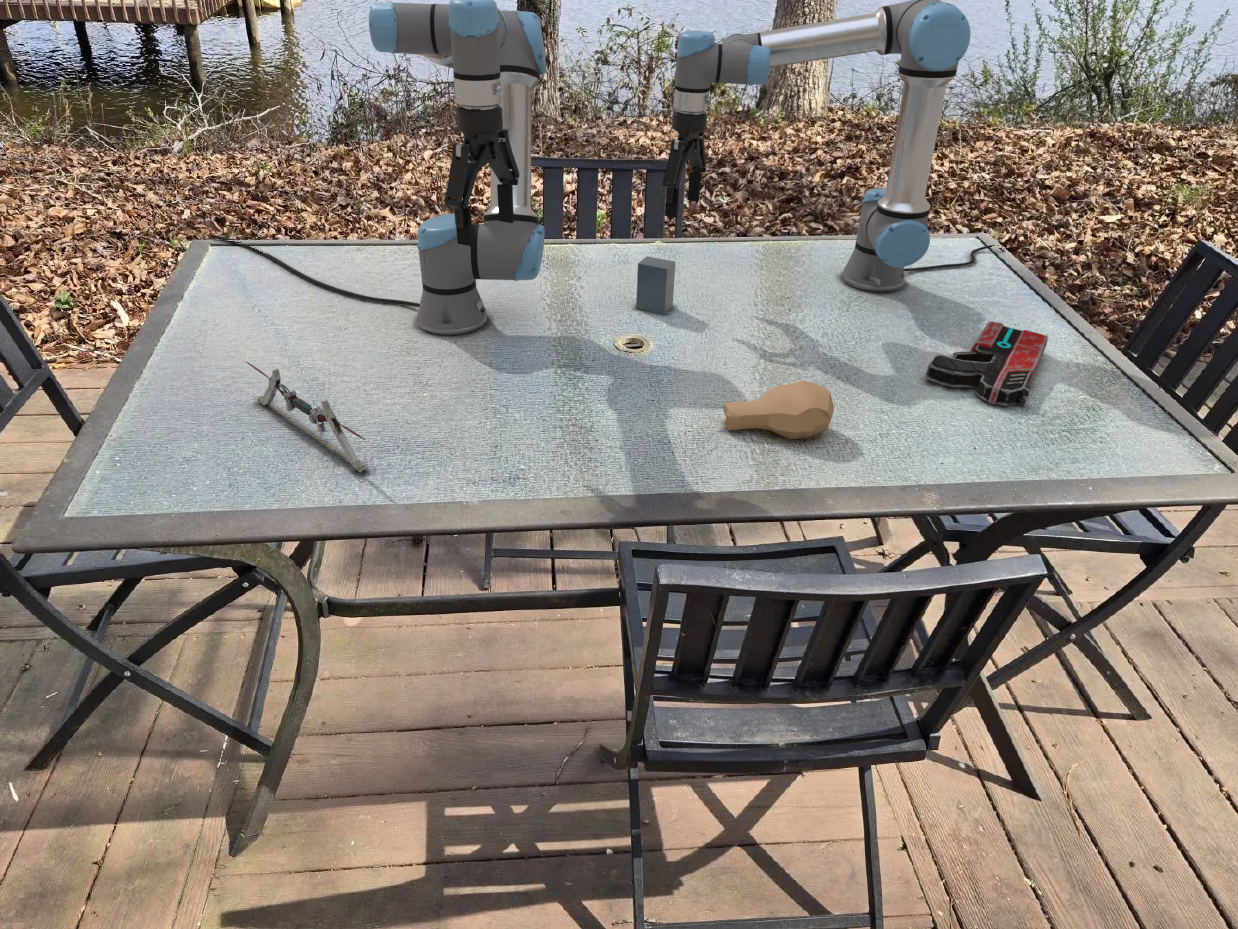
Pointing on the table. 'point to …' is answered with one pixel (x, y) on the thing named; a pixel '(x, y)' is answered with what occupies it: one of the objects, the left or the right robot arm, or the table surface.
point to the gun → (993, 364)
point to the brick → (655, 285)
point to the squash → (784, 411)
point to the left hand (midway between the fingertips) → (486, 232)
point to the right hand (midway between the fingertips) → (682, 208)
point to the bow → (311, 415)
